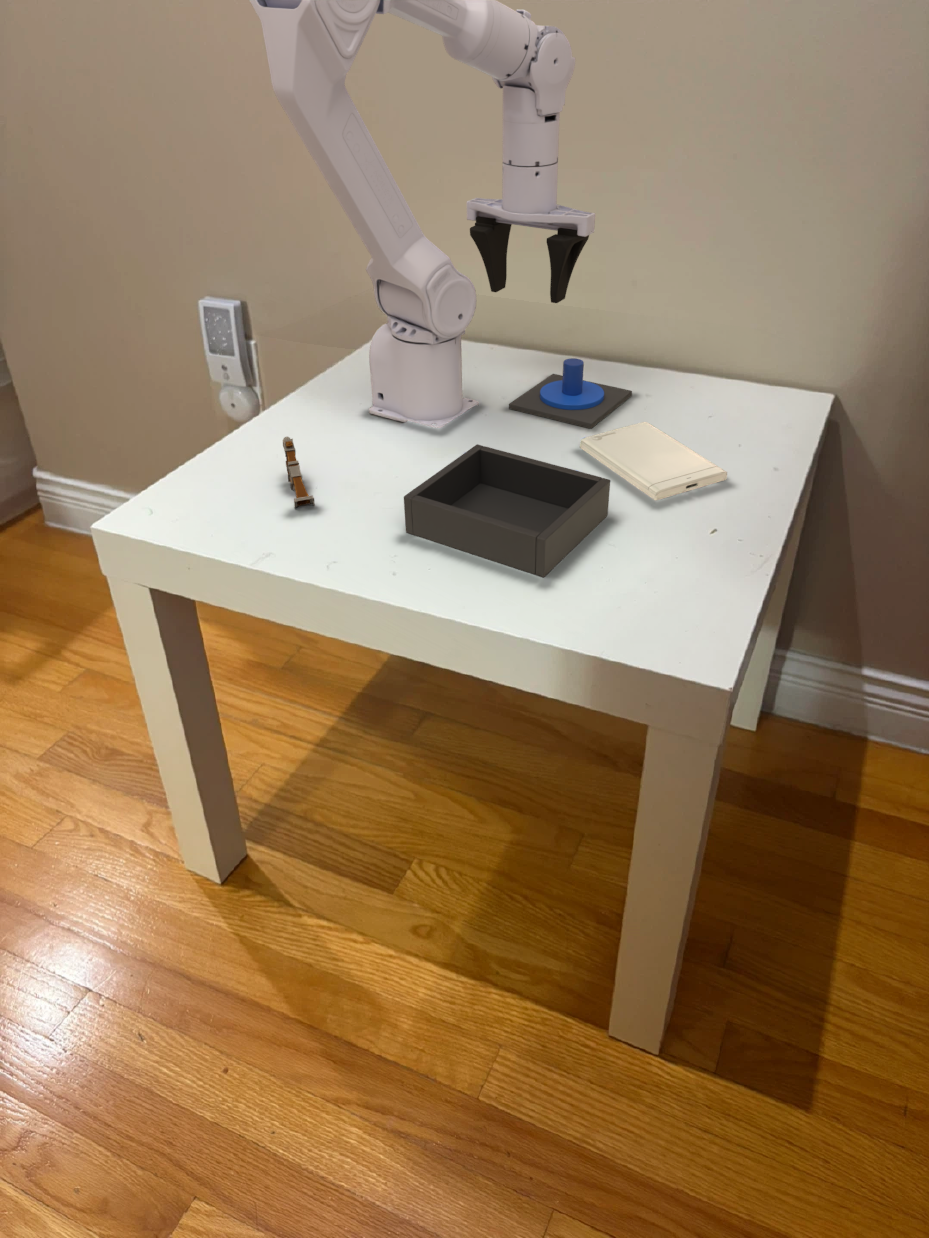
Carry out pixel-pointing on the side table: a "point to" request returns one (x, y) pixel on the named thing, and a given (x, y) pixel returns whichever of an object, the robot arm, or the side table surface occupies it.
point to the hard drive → (652, 460)
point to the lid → (572, 389)
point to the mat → (582, 417)
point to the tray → (508, 508)
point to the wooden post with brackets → (295, 474)
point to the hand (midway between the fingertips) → (527, 295)
